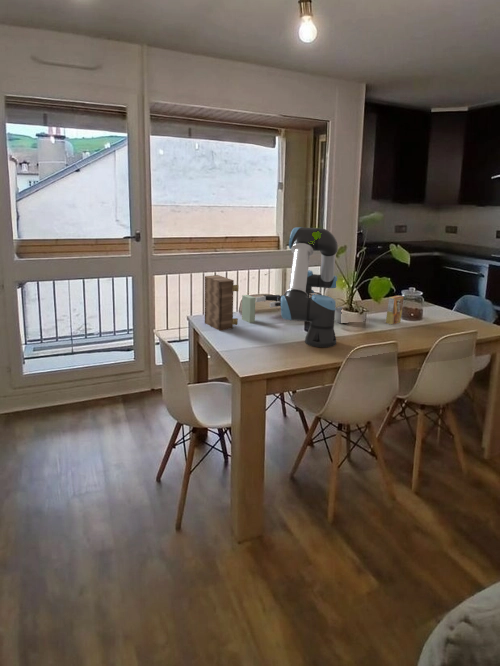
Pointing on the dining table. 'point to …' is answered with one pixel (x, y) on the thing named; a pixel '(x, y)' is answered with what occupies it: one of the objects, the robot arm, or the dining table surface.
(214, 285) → the cabinet
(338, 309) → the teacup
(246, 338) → the dining table surface
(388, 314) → the candy box
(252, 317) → the pale green tall block
